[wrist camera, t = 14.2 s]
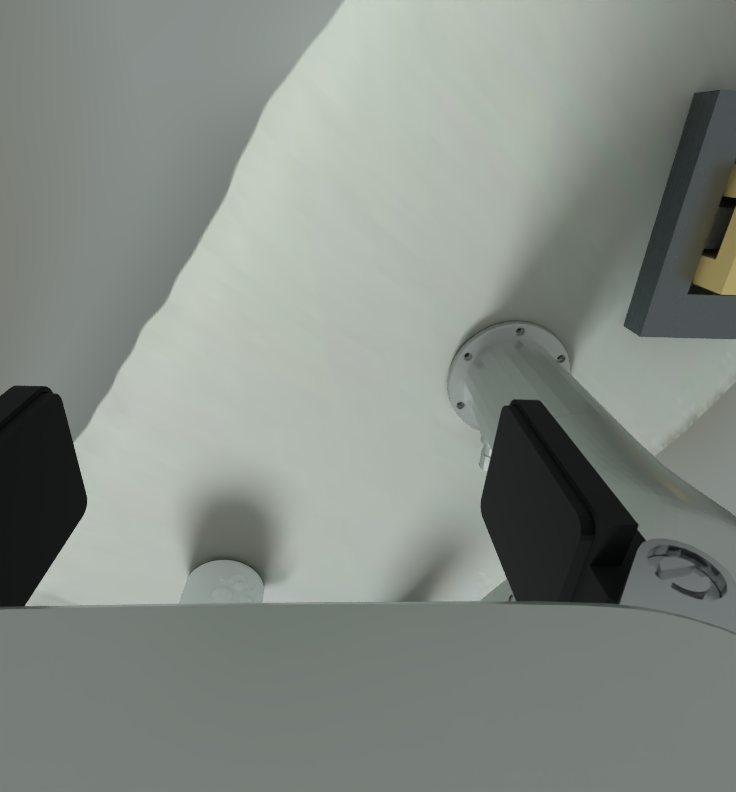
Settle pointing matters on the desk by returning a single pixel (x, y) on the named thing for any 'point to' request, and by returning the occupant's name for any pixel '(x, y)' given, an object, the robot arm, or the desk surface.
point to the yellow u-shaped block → (721, 255)
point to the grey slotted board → (690, 230)
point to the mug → (223, 584)
